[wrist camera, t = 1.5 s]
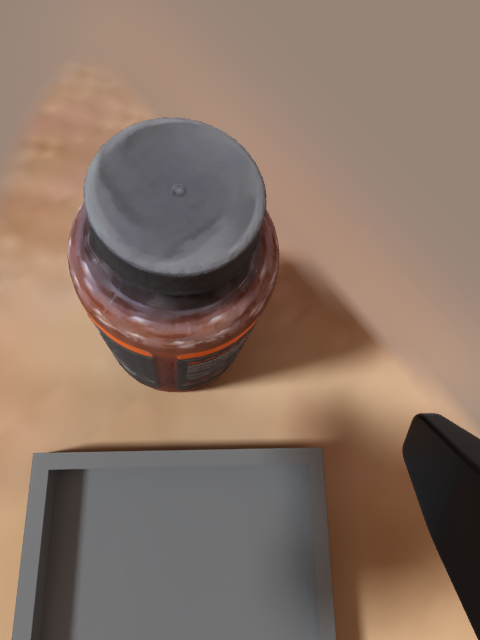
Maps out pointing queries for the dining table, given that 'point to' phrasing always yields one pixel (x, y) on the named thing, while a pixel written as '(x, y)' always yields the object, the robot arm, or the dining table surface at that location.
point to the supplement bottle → (173, 250)
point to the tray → (176, 546)
